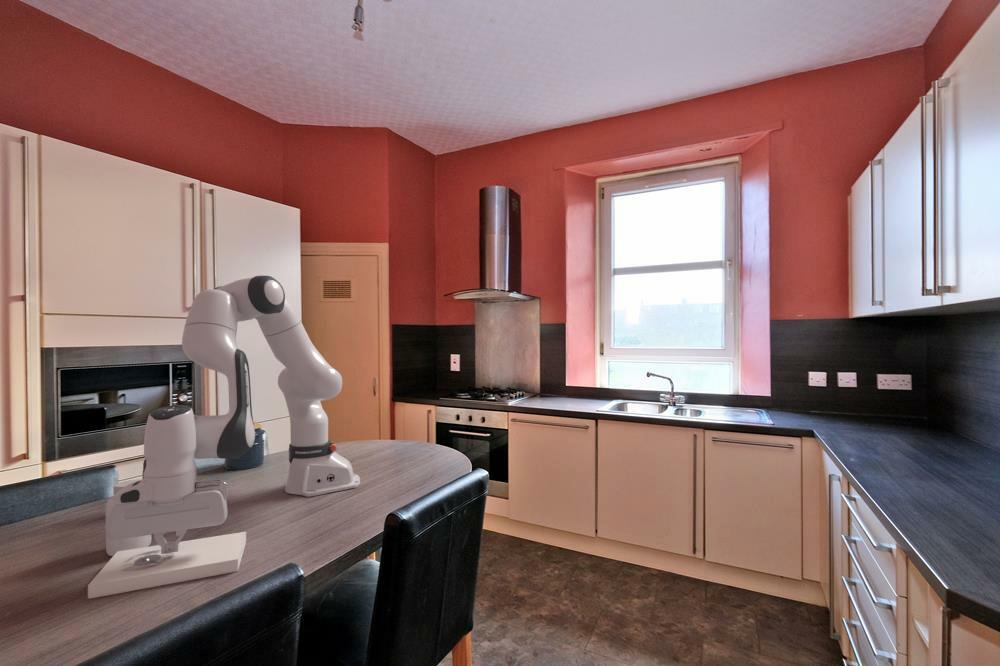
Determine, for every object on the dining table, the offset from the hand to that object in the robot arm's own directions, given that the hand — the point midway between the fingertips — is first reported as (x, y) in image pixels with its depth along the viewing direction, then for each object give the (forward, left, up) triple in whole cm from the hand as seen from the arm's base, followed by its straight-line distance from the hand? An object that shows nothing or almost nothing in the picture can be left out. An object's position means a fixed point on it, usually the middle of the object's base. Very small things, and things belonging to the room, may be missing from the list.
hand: (170, 551), depth 93 cm
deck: (-1, 0, -3) cm, 4 cm away
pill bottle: (+11, -14, -4) cm, 18 cm away
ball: (+5, 0, -2) cm, 5 cm away
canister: (-5, -78, -4) cm, 78 cm away
